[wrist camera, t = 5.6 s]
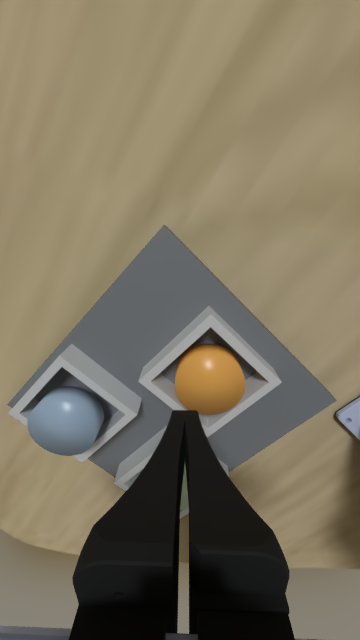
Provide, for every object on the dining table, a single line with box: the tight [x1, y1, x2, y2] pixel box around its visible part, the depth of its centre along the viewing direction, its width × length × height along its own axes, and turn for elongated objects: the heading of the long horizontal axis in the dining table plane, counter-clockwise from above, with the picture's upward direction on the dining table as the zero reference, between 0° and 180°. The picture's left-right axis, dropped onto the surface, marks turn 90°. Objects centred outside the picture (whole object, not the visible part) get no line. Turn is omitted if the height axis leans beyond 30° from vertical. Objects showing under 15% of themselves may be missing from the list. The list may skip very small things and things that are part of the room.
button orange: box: [175, 343, 245, 415], centre depth 16 cm, size 5×5×2 cm
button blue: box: [27, 386, 104, 456], centre depth 17 cm, size 5×5×2 cm
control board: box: [7, 225, 337, 519], centre depth 19 cm, size 18×19×3 cm
